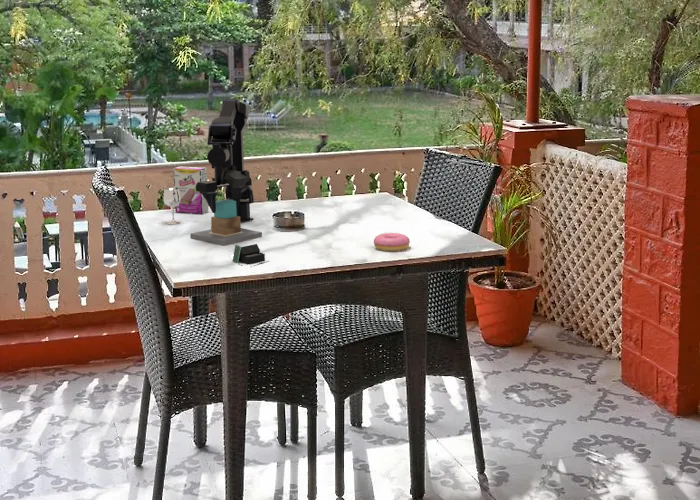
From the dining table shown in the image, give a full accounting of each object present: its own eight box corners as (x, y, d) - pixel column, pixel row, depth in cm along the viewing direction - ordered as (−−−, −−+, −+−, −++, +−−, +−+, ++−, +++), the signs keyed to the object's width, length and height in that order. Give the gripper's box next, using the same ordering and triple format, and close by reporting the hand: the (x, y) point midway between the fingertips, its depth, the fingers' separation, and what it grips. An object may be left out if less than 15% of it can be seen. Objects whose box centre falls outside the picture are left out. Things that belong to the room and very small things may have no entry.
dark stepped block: (256, 253, 284) (255, 235, 283) (288, 262, 273) (287, 243, 272) (214, 262, 274) (213, 244, 273) (246, 272, 263) (245, 252, 262)
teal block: (226, 214, 306) (225, 199, 304) (236, 216, 302) (236, 201, 301) (214, 217, 302) (213, 201, 301) (224, 219, 299) (223, 203, 297)
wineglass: (174, 225, 322) (172, 190, 319) (161, 223, 325) (159, 189, 322) (185, 222, 327) (183, 188, 324) (173, 220, 330) (171, 186, 327)
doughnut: (398, 242, 295) (398, 229, 294) (416, 250, 285) (416, 236, 284) (367, 246, 290) (367, 233, 289) (384, 254, 280) (384, 240, 280)
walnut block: (227, 229, 308) (226, 214, 307) (240, 231, 303) (240, 216, 302) (211, 232, 303) (211, 217, 302) (225, 235, 299) (224, 219, 298)
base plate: (229, 229, 315) (228, 224, 314) (261, 236, 304) (261, 231, 304) (190, 238, 303) (190, 232, 303) (223, 245, 293) (223, 240, 292)
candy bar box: (174, 213, 344) (172, 167, 340) (181, 210, 348) (179, 166, 344) (202, 214, 340) (200, 169, 336) (209, 212, 345) (207, 167, 341)
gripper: (217, 167, 286) (219, 218, 290) (262, 160, 299) (264, 209, 303) (193, 164, 293) (195, 214, 297) (239, 157, 307) (240, 205, 310)
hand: (225, 210), depth 302 cm, fingers open, 9 cm apart
